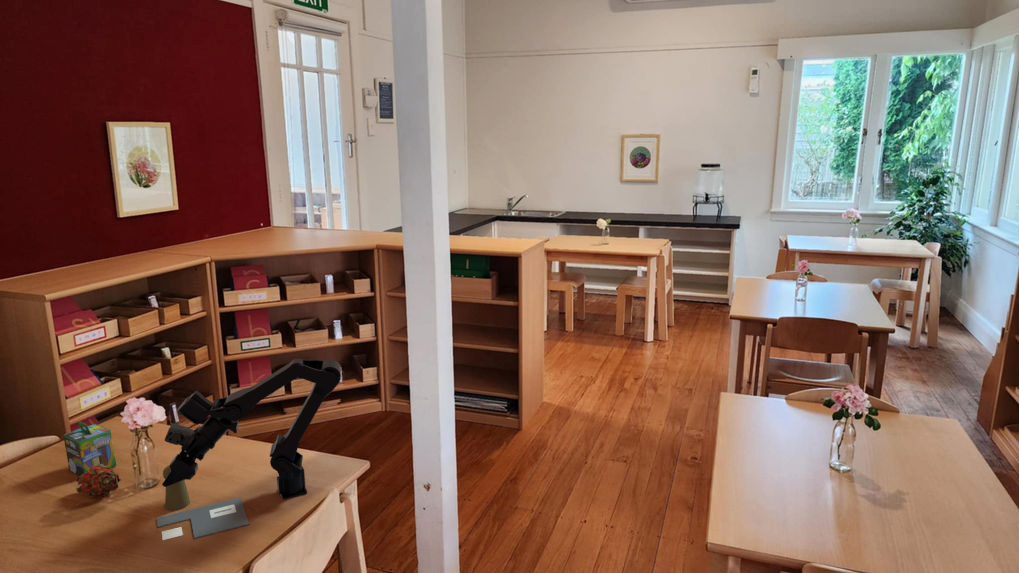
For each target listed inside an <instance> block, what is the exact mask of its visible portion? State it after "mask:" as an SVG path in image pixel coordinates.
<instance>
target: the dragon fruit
mask: <svg viewBox="0 0 1019 573" xmlns="http://www.w3.org/2000/svg"><path fill="white" fill-rule="evenodd" d="M120 481H122V479H121V478H120V475H119V473H118V472H116V471H115V470H114V468H113V467H111V468H110V467H109V466H100V465H97V466H92V468H91V469H90V471H89V472H87V473H84V474H83V475H81V476H79V475H78V477H77V479H76V482H77V486H79V487H76V488H75V490H76V492H77V493H78V494H80V493H87V492H88V496H89V497H90V498H95V497H96V496H98V495H99V496H101V497H102V496H107V495H110V492H115V491H116V490H118V489H119V483H120ZM73 483H75V482H73Z"/></svg>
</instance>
